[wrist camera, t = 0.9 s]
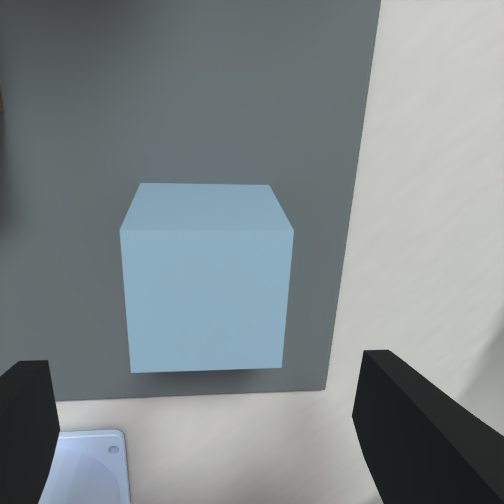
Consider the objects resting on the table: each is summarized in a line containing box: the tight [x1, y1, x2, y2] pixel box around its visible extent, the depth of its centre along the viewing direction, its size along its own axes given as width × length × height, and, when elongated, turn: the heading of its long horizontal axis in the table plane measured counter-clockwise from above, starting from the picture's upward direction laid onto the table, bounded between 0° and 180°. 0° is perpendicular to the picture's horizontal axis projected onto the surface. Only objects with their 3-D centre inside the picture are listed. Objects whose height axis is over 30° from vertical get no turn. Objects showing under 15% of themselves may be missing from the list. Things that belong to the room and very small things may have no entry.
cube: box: [120, 183, 294, 373], centre depth 16 cm, size 5×5×5 cm
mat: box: [0, 0, 381, 401], centre depth 16 cm, size 24×22×1 cm
